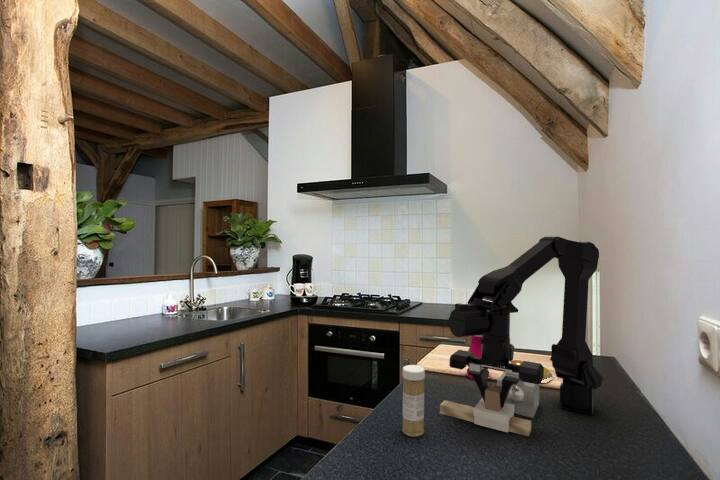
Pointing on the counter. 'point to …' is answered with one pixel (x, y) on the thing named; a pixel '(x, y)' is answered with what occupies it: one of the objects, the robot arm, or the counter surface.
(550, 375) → the bread roll
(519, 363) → the plunger
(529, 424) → the rail
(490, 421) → the carriage
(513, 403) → the cabinet
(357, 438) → the counter surface
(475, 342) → the pepper mill
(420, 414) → the sprinkles bottle
